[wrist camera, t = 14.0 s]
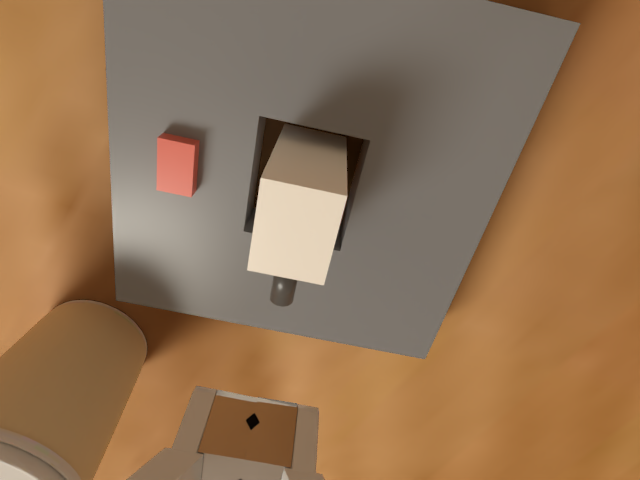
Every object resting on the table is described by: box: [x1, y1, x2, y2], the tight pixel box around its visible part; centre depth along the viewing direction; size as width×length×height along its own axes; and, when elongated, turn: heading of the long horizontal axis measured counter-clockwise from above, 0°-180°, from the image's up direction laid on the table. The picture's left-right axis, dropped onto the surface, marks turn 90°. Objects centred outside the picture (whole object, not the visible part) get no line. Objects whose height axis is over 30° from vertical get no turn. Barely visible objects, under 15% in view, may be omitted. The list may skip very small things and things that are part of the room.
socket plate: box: [103, 0, 580, 359], centre depth 23 cm, size 20×20×4 cm
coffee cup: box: [0, 300, 147, 480], centre depth 27 cm, size 9×9×12 cm
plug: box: [247, 124, 347, 307], centre depth 22 cm, size 7×4×8 cm, turn 168°
